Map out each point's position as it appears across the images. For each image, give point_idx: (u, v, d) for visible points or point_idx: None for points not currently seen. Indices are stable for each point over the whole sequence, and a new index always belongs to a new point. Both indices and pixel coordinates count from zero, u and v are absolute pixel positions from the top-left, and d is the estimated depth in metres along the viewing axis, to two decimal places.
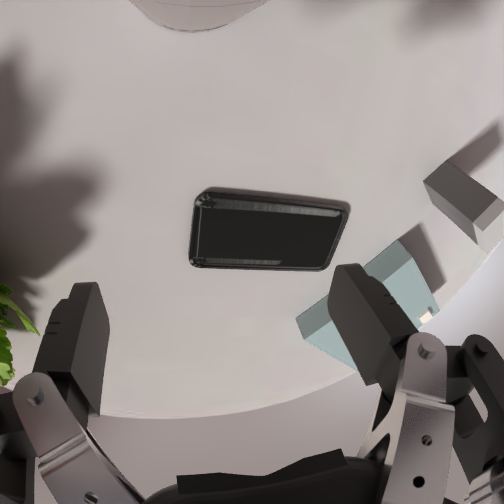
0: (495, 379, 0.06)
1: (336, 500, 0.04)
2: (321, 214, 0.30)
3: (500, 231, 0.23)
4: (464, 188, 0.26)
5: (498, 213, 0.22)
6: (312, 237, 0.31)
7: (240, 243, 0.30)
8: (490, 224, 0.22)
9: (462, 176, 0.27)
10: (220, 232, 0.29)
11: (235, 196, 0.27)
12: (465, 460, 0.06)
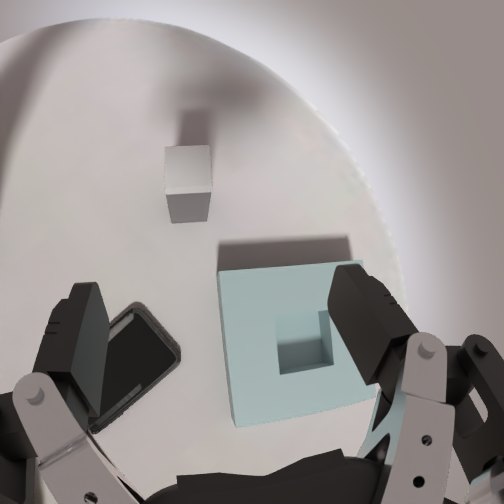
0: (495, 379, 0.06)
1: (336, 500, 0.04)
2: (121, 327, 0.31)
3: (194, 161, 0.26)
4: None
5: None
6: (137, 347, 0.31)
7: None
8: (165, 175, 0.25)
9: None
10: None
11: None
12: (465, 460, 0.06)
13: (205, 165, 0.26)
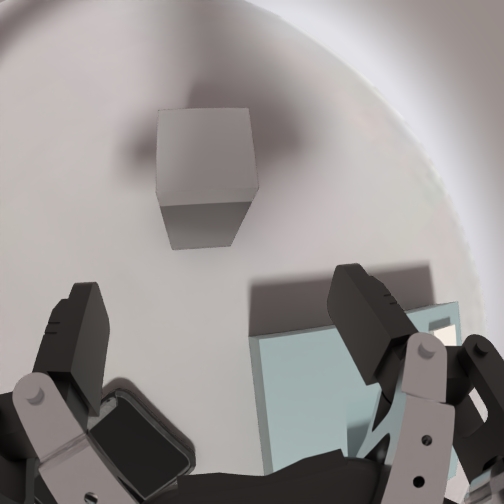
0: (495, 379, 0.06)
1: (336, 500, 0.04)
2: (100, 418, 0.17)
3: (218, 137, 0.12)
4: None
5: None
6: (127, 447, 0.17)
7: None
8: (158, 167, 0.12)
9: None
10: None
11: None
12: (465, 460, 0.06)
13: (242, 146, 0.13)
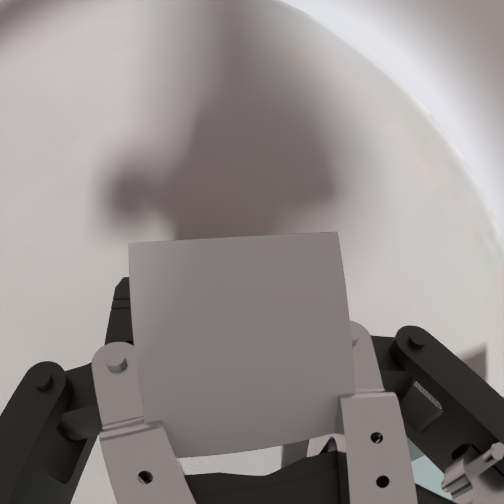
0: (441, 371, 0.06)
1: (336, 500, 0.04)
2: None
3: (276, 322, 0.06)
4: None
5: None
6: None
7: None
8: (147, 404, 0.05)
9: None
10: None
11: None
12: (429, 451, 0.06)
13: (328, 340, 0.06)
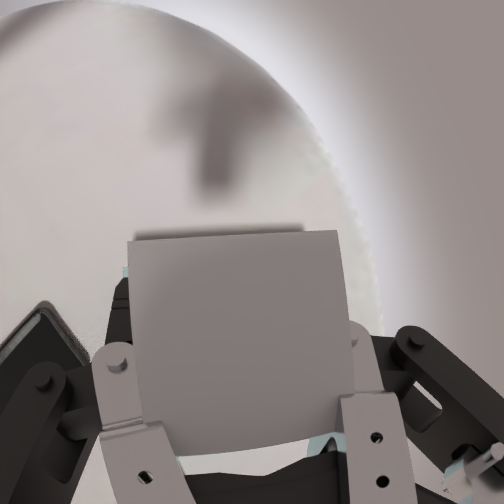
0: (441, 371, 0.06)
1: (336, 500, 0.04)
2: (29, 329, 0.23)
3: (276, 320, 0.06)
4: None
5: None
6: (44, 353, 0.23)
7: None
8: (146, 403, 0.05)
9: None
10: None
11: None
12: (429, 451, 0.06)
13: (328, 339, 0.06)
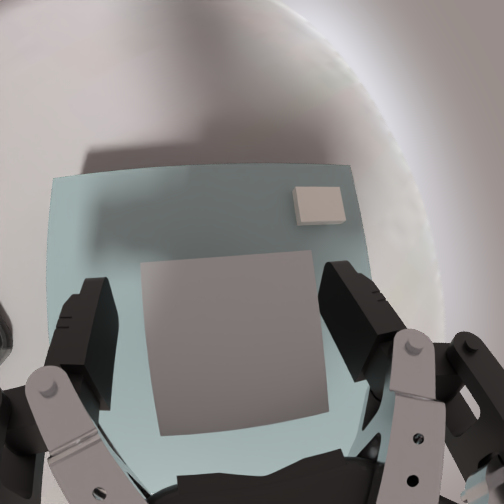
0: (486, 376, 0.06)
1: (336, 500, 0.04)
2: None
3: (260, 325, 0.07)
4: None
5: None
6: None
7: None
8: (157, 391, 0.06)
9: None
10: None
11: None
12: (459, 458, 0.06)
13: (303, 339, 0.07)
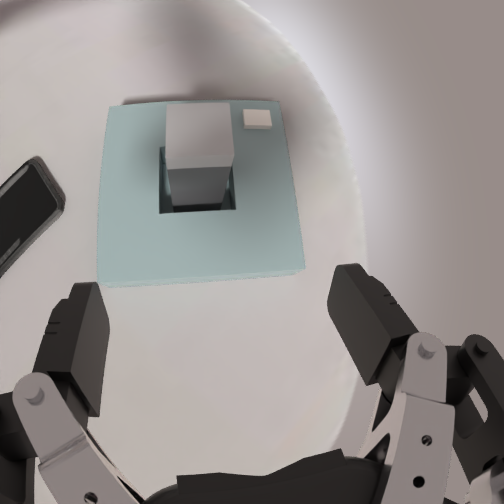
0: (495, 379, 0.06)
1: (336, 500, 0.04)
2: (15, 180, 0.24)
3: (207, 122, 0.18)
4: None
5: (166, 123, 0.18)
6: (24, 198, 0.24)
7: None
8: (167, 141, 0.17)
9: None
10: None
11: None
12: (465, 460, 0.06)
13: (223, 128, 0.18)
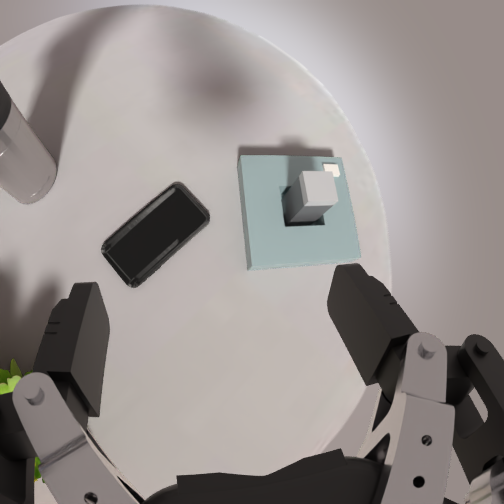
0: (495, 379, 0.06)
1: (336, 500, 0.04)
2: (165, 198, 0.44)
3: (324, 182, 0.37)
4: (292, 198, 0.42)
5: (304, 182, 0.37)
6: (176, 211, 0.43)
7: (143, 251, 0.41)
8: (307, 192, 0.37)
9: (288, 195, 0.43)
10: (127, 255, 0.41)
11: (116, 232, 0.42)
12: (465, 460, 0.06)
13: (332, 186, 0.37)
